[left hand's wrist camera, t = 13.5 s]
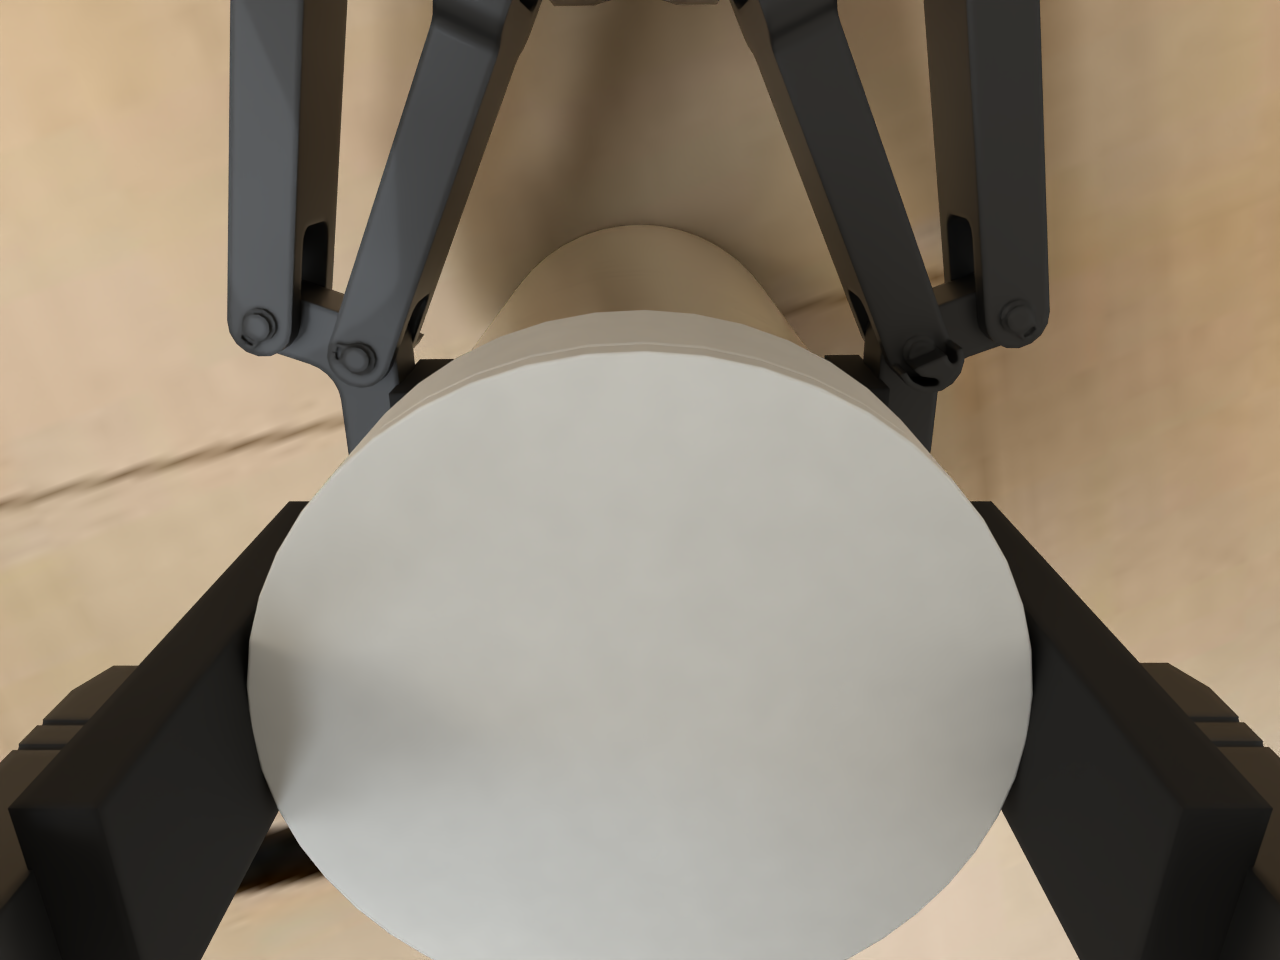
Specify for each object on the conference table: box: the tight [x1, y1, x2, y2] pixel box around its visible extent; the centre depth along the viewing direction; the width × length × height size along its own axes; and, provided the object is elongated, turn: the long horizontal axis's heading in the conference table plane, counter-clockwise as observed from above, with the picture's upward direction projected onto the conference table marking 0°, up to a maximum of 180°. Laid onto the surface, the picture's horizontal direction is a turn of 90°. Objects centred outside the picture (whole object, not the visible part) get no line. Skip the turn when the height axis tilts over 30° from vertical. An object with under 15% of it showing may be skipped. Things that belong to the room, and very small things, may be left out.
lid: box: [247, 310, 1033, 960], centre depth 12 cm, size 9×9×2 cm
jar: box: [471, 225, 808, 351], centre depth 18 cm, size 8×8×15 cm
